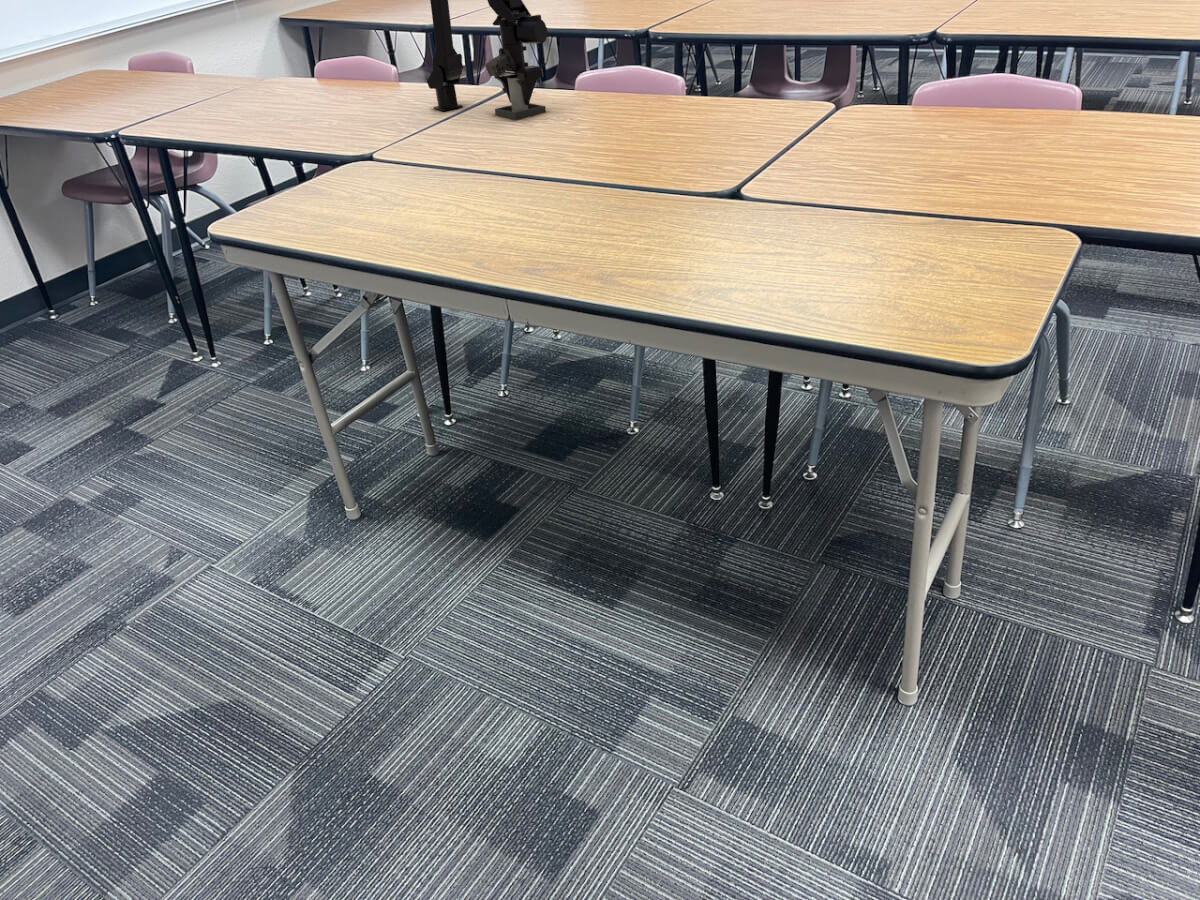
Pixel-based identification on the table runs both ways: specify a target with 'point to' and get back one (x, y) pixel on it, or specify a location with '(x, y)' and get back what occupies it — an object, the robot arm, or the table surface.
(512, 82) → the gray cylinder
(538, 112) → the black square frame
